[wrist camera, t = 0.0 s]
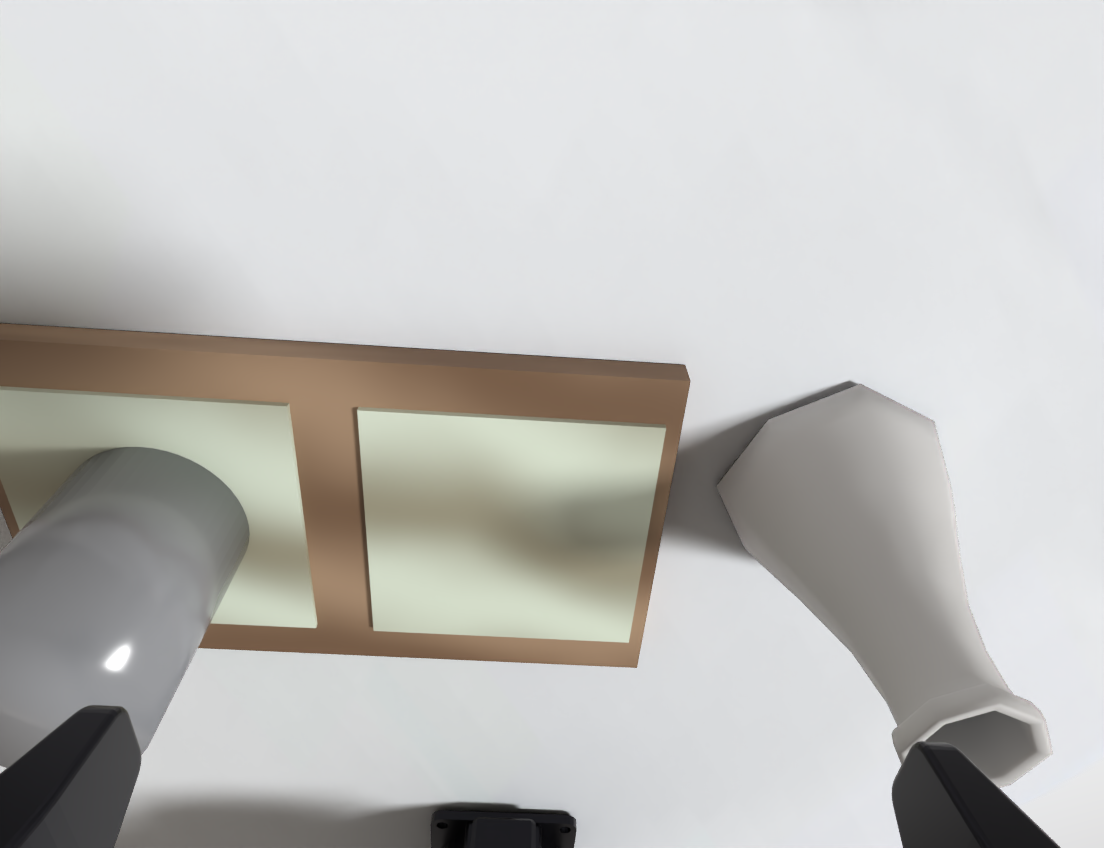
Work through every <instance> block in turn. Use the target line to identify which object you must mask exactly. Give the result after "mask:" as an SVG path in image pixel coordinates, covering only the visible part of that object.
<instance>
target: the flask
mask: <svg viewBox="0 0 1104 848" xmlns="http://www.w3.org/2000/svg"><path fill="white" fill-rule="evenodd" d="M716 487H717V490H718V492H719V494H720V496H721V498H722V501H723V503H724V505H725V507H726V509H727V511H728V514H729V516H730V518H731V520H732V522H733V524H734V527H735V529H736V531H737V533H738V535H739V538H740V540H741V542H742V544H743V546H744V548H745V549H746V550H747V551H748V552H749V553H750V554H751V555H752V556H753V557H754V558H755V559H756V560H757V561H758V562H759V563H760V564H761V565H762V566H763V567H765V568H766V569H767V570H768V571H769V572H770V573H771V574H772V575H773V576H774V577H775V578H777V579H778V580H779V581H780V582H781V583H782V584H783V585H784V586H785V587H786V588H787V589H788V590H790V591H791V592H792V593H793V594H794V595H795V596H796V597H797V598H798V599H799V600H800V601H801V602H802V603H803V604H804V605H805V606H806V607H807V608H808V609H809V610H810V611H811V612H812V613H813V614H814V615H815V616H816V617H817V618H818V619H819V620H820V621H821V622H822V623H823V624H824V625H825V626H826V627H827V628H828V629H829V630H830V631H831V632H832V633H833V634H834V635H835V636H836V637H837V638H838V639H839V640H840V641H841V642H842V643H843V644H844V645H845V646H846V647H847V648H848V649H849V650H850V651H851V652H852V654H853V655H854V657H855V658H856V660H857V661H858V662H859V664H860V665H861V667H862V668H863V670H864V671H865V673H866V674H867V675H868V677H869V678H870V680H871V681H872V683H873V684H874V685H875V687H876V688H877V690H878V691H879V693H880V694H881V695H882V697H883V698H884V700H885V701H886V703H887V705H888V707H889V709H890V711H891V713H892V715H893V717H894V719H895V722H896V724H897V726H898V727H896V728H895V729H894V730H893V732H892V739H893V744H894V747H895V749H896V752H897V754H898V757H899V759H900V762H901V764H902V763H903V761H904V760H905V758H906V756H907V754H908V752H909V750H910V748H911V746H912V745H913V744H915V743H916V742H919V741H925V742H945V743H949V744H951V745H953V746H955V747H956V748H958V749H959V750H960V751H961V752H962V753H963V754H964V755H965V756H966V757H967V758H969V759H970V760H971V761H972V762H973V763H974V764H975V765H976V766H977V767H978V768H979V769H980V770H981V771H982V772H983V773H984V774H985V775H986V776H987V777H988V778H989V779H990V780H991V781H992V782H993V783H994V784H995V785H996V786H997V787H999V788H1001V787H1004V786H1008V785H1011V784H1012V783H1014V782H1015V781H1016V780H1018V779H1019V778H1021V777H1022V776H1023V775H1025V774H1026V773H1027V772H1029V771H1030V770H1032V769H1033V768H1034V767H1036V766H1037V765H1038V764H1040V763H1041V762H1043V761H1044V760H1045V759H1047V758H1048V757H1049V756H1051V755H1052V754H1053V751H1052V746H1051V742H1050V737H1049V733H1048V729H1047V724H1046V720H1045V718H1044V716H1043V714H1042V713H1041V711H1040V710H1039V709H1038V708H1037V707H1036V706H1035V705H1034V704H1033V703H1032V702H1030V701H1028V700H1026V699H1023V698H1021V697H1018V696H1016V695H1014V694H1013V692H1012V691H1011V690H1010V689H1009V688H1008V686H1007V684H1006V683H1005V681H1004V679H1003V678H1002V676H1001V674H1000V673H999V671H998V669H997V668H996V666H995V664H994V663H993V661H992V659H991V658H990V656H989V654H988V653H987V651H986V649H985V646H984V643H983V641H982V638H981V636H980V633H979V630H978V628H977V625H976V622H975V620H974V617H973V614H972V612H971V609H970V607H969V603H968V597H967V591H966V585H965V580H964V574H963V568H962V563H961V557H960V549H959V540H958V531H957V522H956V513H955V505H954V499H953V493H952V488H951V484H950V480H949V476H948V473H947V469H946V465H945V461H944V457H943V453H942V449H941V446H940V442H939V438H938V434H937V430H936V426H935V422H934V421H933V420H931V419H929V418H927V417H925V416H923V415H921V414H919V413H917V412H915V411H913V410H911V409H909V408H907V407H905V406H903V405H902V404H900V403H898V402H896V401H894V400H892V399H890V398H888V397H886V396H884V395H882V394H880V393H878V392H876V391H874V390H872V389H870V388H868V387H866V386H864V385H862V384H859V385H856V386H853V387H851V388H848V389H846V390H843V391H840V392H838V393H835V394H833V395H830V396H828V397H825V398H822V399H820V400H817V401H815V402H812V403H810V404H807V405H804V406H802V407H799V408H797V409H794V410H791V411H789V412H786V413H784V414H781V415H779V416H776V417H773V418H771V419H768V420H767V422H766V423H765V424H764V426H763V427H762V428H761V429H760V431H759V432H758V433H757V435H756V436H755V437H754V438H753V440H752V441H751V442H750V444H749V445H748V446H747V447H746V449H745V450H744V451H743V453H742V454H741V455H740V456H739V458H738V459H737V460H736V462H735V463H734V464H733V465H732V467H731V468H730V469H729V471H728V472H727V473H726V474H725V476H724V477H723V478H722V480H721V481H720V482H719V483H718V485H717V486H716Z"/></svg>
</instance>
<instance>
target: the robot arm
mask: <svg viewBox="0 0 1104 848" xmlns="http://www.w3.org/2000/svg"><path fill="white" fill-rule="evenodd" d="M140 766H141V750H140V746H139V743H138V740H137V737H136V734H135V731H134V728H133V725H132V722H131V719H130V716H129V714H128V712H127V710H126V709H124V708H123V707H121V706H106V705H90V706H86V707H84V708H82V709H80V710H78V711H77V712H76V713H74V714H73V715H72V716H71V717H69V718H68V719H67V720H66V721H64V722H63V723H62V724H61V725H60V726H58V727H57V728H56V729H55V730H53V731H52V732H51V733H50V734H48V735H47V736H46V737H45V738H44V739H42V740H41V741H40V742H39V743H37V744H36V745H35V746H34V747H32V748H31V749H30V750H29V751H28V752H26V753H25V754H24V755H23V756H21V757H20V758H19V759H18V760H16V761H15V762H14V763H13V764H12V765H10V766H9V767H8V768H7V769H5V770H4V771H3V772H2V773H0V848H114V846H115V843H116V840H117V837H118V834H119V831H120V828H121V825H122V822H123V819H124V816H125V813H126V810H127V807H128V804H129V801H130V798H131V795H132V792H133V789H134V786H135V783H136V780H137V777H138V774H139V771H140ZM892 801H893V807H894V811H895V815H896V819H897V824H898V828H899V832H900V837H901V841H902V845H903V848H1060V846H1058V845H1057V844H1056V843H1055V842H1054V841H1053V840H1052V839H1051V838H1050V837H1049V836H1048V835H1047V834H1046V833H1045V832H1044V831H1043V830H1042V829H1041V828H1040V827H1039V826H1038V825H1037V824H1035V822H1033V821H1032V819H1030V817H1028V816H1027V815H1026V814H1025V813H1024V812H1023V811H1022V810H1021V809H1020V808H1019V807H1018V806H1017V805H1016V804H1015V803H1014V802H1013V801H1012V800H1011V799H1010V798H1009V797H1008V796H1007V795H1006V794H1005V793H1004V792H1003V791H1002V790H1001V789H1000V788H999V787H997V786H996V785H995V784H994V783H993V782H992V781H991V780H990V779H989V778H988V777H987V776H986V775H985V774H984V773H983V772H982V771H981V770H980V769H979V768H978V767H977V766H976V765H975V764H974V763H973V762H972V761H971V760H970V759H969V758H967V757H966V756H965V755H964V754H963V753H962V752H961V751H960V750H959V749H958V748H956V747H955V746H953V745H951V744H949V743H945V742H925V741H919V742H916V743H915V744H913V745H912V746H911V748H910V750H909V752H908V754H907V756H906V758H905V760H904V761H903V763H902V765H901V767H900V769H899V771H898V773H897V775H896V777H895V779H894V782H893V786H892ZM575 836H576V819H575V818H574V817H572V816H569V815H552V814H525V813H499V812H472V811H445V810H442V811H437V812H435V813H434V814H433V815H432V821H431V848H574V843H575Z"/></svg>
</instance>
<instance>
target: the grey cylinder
mask: <svg viewBox="0 0 1104 848" xmlns="http://www.w3.org/2000/svg"><path fill="white" fill-rule="evenodd" d="M249 536H250V532H249V524H248V520H247V516H246V514H245V512H244V509H243V507H242V505H241V504H240V502H239V500H238V499H237V497H236V496H235V495H234V493H233V492H232V491H231V489H230V488H229V487H228V486H227V485H226V484H225V483H224V482H223V481H222V480H220V479H219V478H218V477H217V476H216V475H214V474H213V473H212V472H210V471H209V470H207V469H206V468H204V467H203V466H201V465H199V464H197V463H195V462H194V461H192V460H190V459H187V458H185V457H182V456H180V455H177V454H174V453H171V452H168V451H164V450H159V449H154V448H146V447H122V448H115V449H111V450H107V451H103V452H101V453H98V454H96V455H94V456H92V457H90V458H89V459H87V460H86V461H85V462H83V463H82V464H81V465H80V466H79V467H78V468H77V469H76V470H75V471H74V472H73V473H72V474H71V475H70V477H69V478H68V479H67V480H66V481H65V482H64V483H63V484H62V485H61V486H60V487H59V489H58V490H57V491H56V492H55V493H54V494H53V495H52V496H51V497H50V498H49V499H48V501H47V502H46V503H45V504H44V505H43V506H42V507H41V508H40V509H39V510H38V512H37V513H36V514H35V515H34V516H33V517H32V518H31V519H30V520H29V521H28V522H27V524H26V525H25V526H24V527H23V528H22V529H21V530H20V531H19V532H18V533H17V534H16V536H15V537H14V538H13V539H12V540H11V541H10V542H9V543H8V544H7V545H6V546H5V548H4V549H3V550H2V551H1V552H0V766H3V767H6V768H8V767H9V766H10V765H12V764H13V763H14V762H15V761H16V760H18V759H19V758H20V757H21V756H23V755H24V754H25V753H26V752H28V751H29V750H30V749H31V748H32V747H34V746H35V745H36V744H37V743H39V742H40V741H41V740H42V739H44V738H45V737H46V736H47V735H48V734H50V733H51V732H52V731H53V730H55V729H56V728H57V727H58V726H60V725H61V724H62V723H63V722H64V721H66V720H67V719H68V718H69V717H71V716H72V715H73V714H74V713H76V712H77V711H78V710H80V709H82V708H84V707H86V706H90V705H106V706H121V707H123V708H124V709H126V710H127V712H128V714H129V716H130V719H131V722H132V725H133V728H134V731H135V734H136V737H137V740H138V743H139V746H140V750H141V755H142V754H143V752H144V751H145V750H146V749H147V747H148V745H149V743H150V742H151V740H152V738H153V736H154V734H155V732H156V730H157V728H158V726H159V724H160V722H161V720H162V718H163V716H164V714H165V712H166V710H167V708H168V706H169V704H170V702H171V700H172V698H173V696H174V694H175V692H176V690H177V688H178V686H179V684H180V682H181V680H182V678H183V676H184V674H185V672H186V670H187V668H188V666H189V664H190V662H191V660H192V658H193V656H194V654H195V652H196V650H197V648H198V646H199V645H200V643H201V641H202V639H203V637H204V635H205V633H206V631H207V629H208V627H209V625H210V623H211V621H212V619H213V617H214V615H215V613H216V611H217V609H218V607H219V605H220V603H221V601H222V599H223V597H224V595H225V593H226V591H227V589H228V587H229V585H230V583H231V581H232V579H233V577H234V575H235V573H236V571H237V569H238V567H239V565H240V563H241V561H242V559H243V557H244V555H245V553H246V551H247V548H248V544H249Z"/></svg>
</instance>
